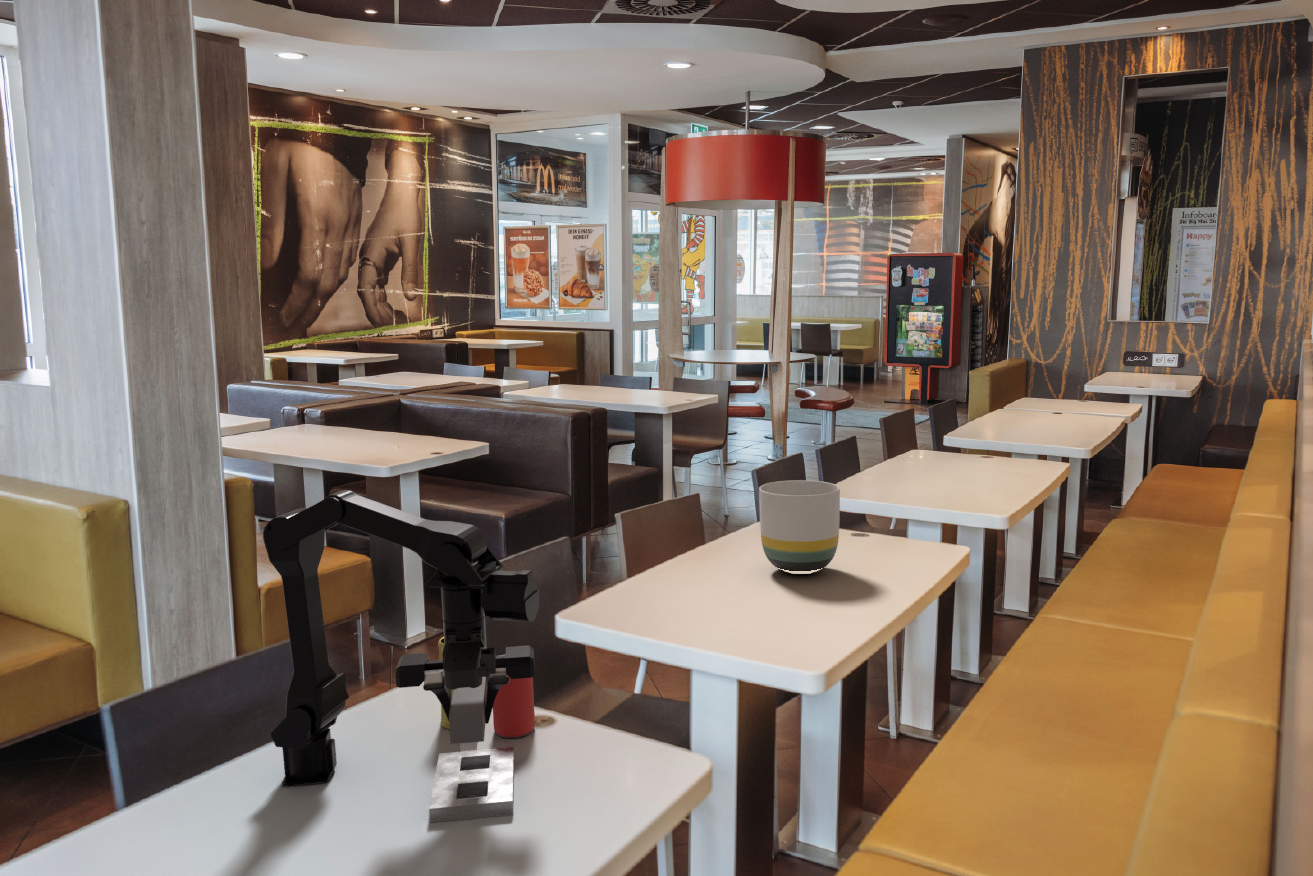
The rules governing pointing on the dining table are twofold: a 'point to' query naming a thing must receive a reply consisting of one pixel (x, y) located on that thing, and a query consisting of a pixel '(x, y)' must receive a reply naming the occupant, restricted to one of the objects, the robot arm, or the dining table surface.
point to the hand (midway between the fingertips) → (469, 724)
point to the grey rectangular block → (468, 716)
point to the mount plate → (473, 785)
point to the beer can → (514, 708)
